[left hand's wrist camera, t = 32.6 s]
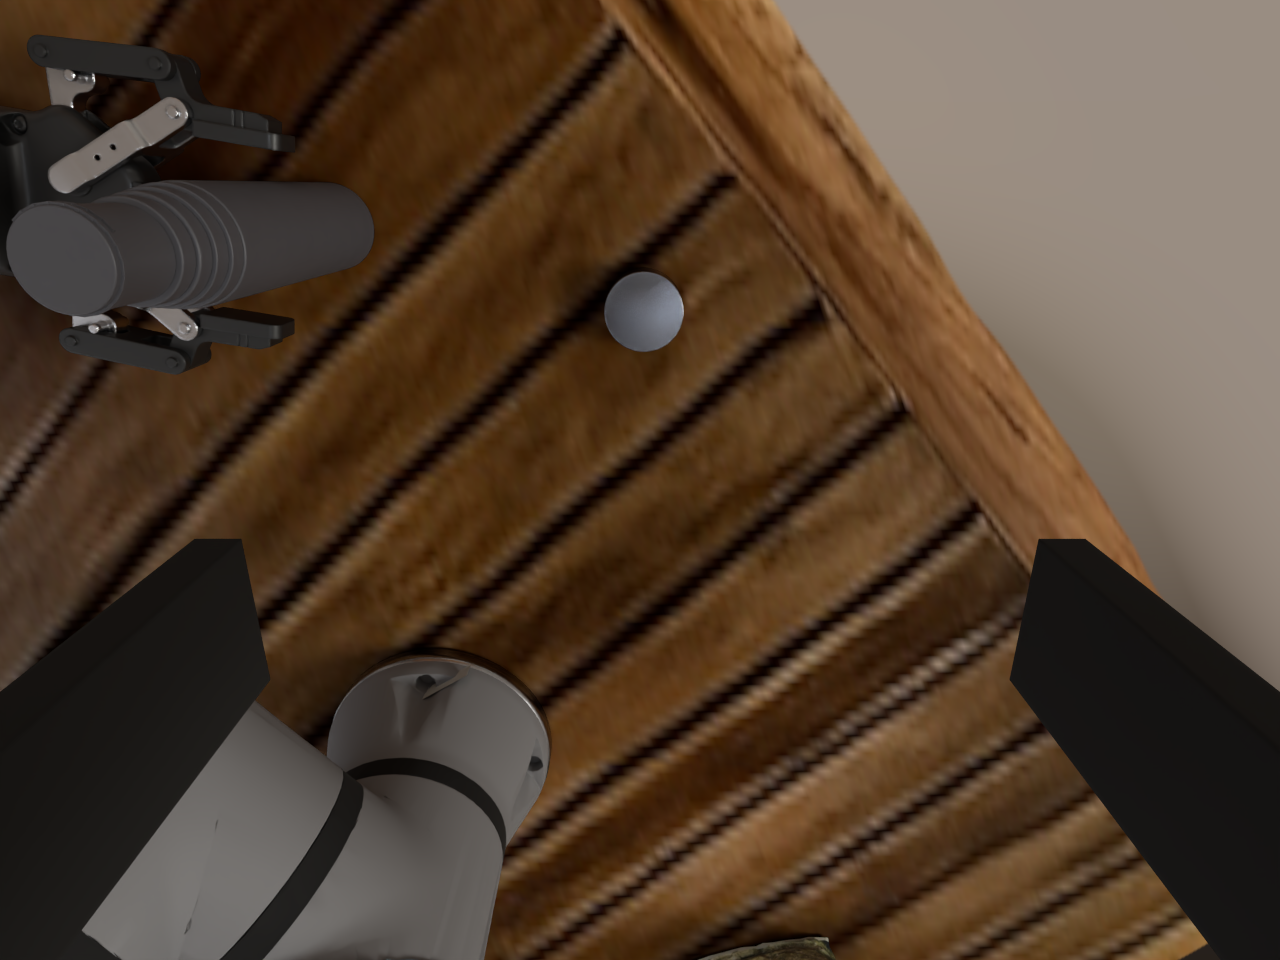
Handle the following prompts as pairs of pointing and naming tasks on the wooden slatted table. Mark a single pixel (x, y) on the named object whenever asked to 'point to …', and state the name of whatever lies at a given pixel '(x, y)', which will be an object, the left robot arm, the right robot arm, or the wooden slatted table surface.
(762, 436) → the wooden slatted table surface
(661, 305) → the cap
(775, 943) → the fossil
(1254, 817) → the left robot arm
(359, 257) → the bottle
